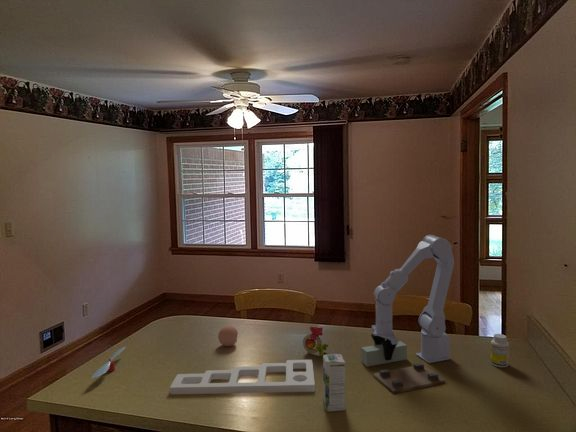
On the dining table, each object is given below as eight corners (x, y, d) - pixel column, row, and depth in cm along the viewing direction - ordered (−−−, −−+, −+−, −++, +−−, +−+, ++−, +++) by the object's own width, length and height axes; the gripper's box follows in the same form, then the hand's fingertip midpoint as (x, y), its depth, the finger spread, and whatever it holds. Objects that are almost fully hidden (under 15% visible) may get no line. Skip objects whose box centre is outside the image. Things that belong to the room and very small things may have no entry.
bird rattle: (307, 362, 155) (329, 355, 152) (295, 335, 155) (316, 327, 153) (310, 355, 161) (332, 348, 158) (299, 329, 161) (320, 321, 159)
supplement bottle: (496, 359, 149) (496, 331, 148) (511, 365, 144) (512, 336, 143) (487, 363, 146) (487, 335, 145) (502, 369, 141) (503, 340, 140)
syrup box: (322, 401, 124) (321, 354, 123) (342, 400, 125) (341, 353, 123) (325, 412, 118) (325, 362, 117) (346, 410, 119) (345, 361, 118)
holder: (170, 395, 131) (169, 387, 130) (184, 369, 149) (184, 362, 148) (314, 393, 130) (314, 384, 130) (312, 366, 148) (312, 359, 148)
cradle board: (422, 366, 145) (422, 360, 144) (445, 382, 133) (445, 375, 133) (373, 376, 139) (373, 369, 139) (393, 393, 128) (393, 386, 127)
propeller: (131, 355, 160) (130, 344, 160) (98, 388, 136) (97, 376, 135) (120, 355, 161) (120, 344, 160) (85, 388, 136) (84, 375, 135)
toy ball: (242, 344, 168) (241, 325, 168) (229, 351, 162) (229, 331, 161) (227, 340, 173) (226, 321, 172) (214, 347, 166) (213, 327, 165)
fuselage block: (400, 355, 155) (400, 341, 154) (406, 359, 151) (406, 345, 150) (361, 362, 150) (361, 347, 149) (366, 367, 146) (366, 351, 146)
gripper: (364, 314, 155) (364, 350, 156) (384, 328, 141) (385, 367, 142) (381, 312, 157) (381, 347, 158) (403, 325, 143) (403, 363, 144)
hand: (384, 356), depth 150 cm, fingers open, 5 cm apart
